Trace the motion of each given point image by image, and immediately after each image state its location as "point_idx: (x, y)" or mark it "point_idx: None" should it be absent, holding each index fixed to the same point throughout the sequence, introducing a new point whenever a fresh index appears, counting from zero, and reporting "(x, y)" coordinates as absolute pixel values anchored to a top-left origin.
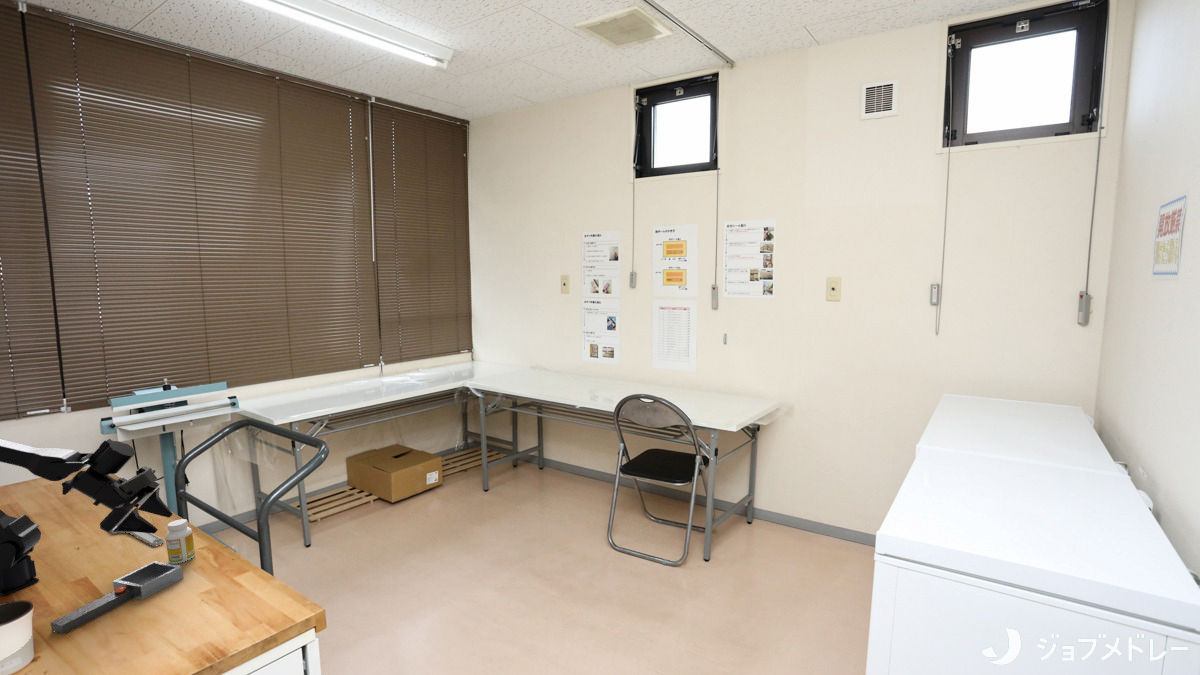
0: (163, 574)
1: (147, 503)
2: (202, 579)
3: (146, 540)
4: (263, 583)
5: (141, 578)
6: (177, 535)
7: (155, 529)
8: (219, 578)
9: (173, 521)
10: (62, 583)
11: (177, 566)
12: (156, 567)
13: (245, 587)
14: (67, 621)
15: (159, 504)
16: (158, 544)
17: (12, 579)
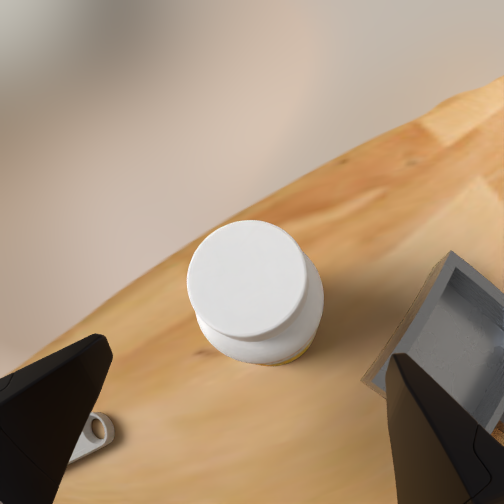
0: (491, 291)
1: (8, 482)
2: (448, 211)
3: (76, 458)
4: (466, 102)
5: None
6: (317, 281)
7: (413, 360)
8: (448, 172)
9: (207, 308)
10: None
11: (449, 265)
12: None
13: (480, 125)
14: None
15: (24, 403)
16: (111, 427)
17: None
